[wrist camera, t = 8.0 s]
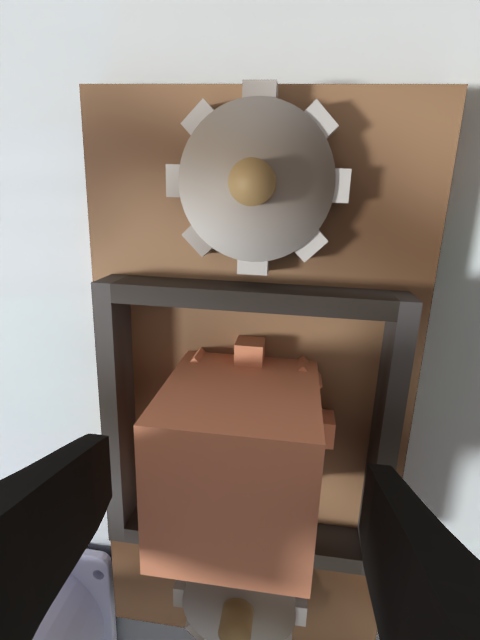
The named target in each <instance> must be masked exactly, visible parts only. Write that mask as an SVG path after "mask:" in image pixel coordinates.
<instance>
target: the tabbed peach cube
mask: <svg viewBox="0 0 480 640" xmlns="http://www.w3.org/2000/svg"><path fill="white" fill-rule="evenodd" d="M321 388H322V379H321V374H320V373H319V372H318V366H317V361H312V360H307V359H306V358H305V356H304V355H303V356H301V357H300V358H299V359H286V358H273V357H265V337H256V336H243V335H239V336H238V338H237V340H236V342H235V345H234V354H222V353H209V352H205V351H204V350H203V349H202V348H200V349H199V350H197V351H187V353H186V354H185V355H184V357H183V358H182V360H181V361H180V362H179V364H178V365H177V366H176V368H175V369H174V371H173V372H172V373H171V375H170V376H169V377H168V379H167V380H166V382H165V383H164V384H163V386H162V387H161V388H160V390H159V391H158V393H157V394H156V395H155V397H154V398H153V399H152V401H151V402H150V404H149V405H148V406H147V408H146V409H145V410H144V412H143V413H142V414H141V416H140V417H139V419H138V420H137V421H136V423H135V424H134V425H133V426H134V447H135V469H136V490H137V512H138V533H139V554H140V574H141V575H148V576H155V577H162V578H168V579H175V580H182V581H189V582H196V583H203V584H209V585H216V586H223V587H230V588H237V589H244V590H250V591H257V592H264V593H271V594H278V595H285V596H292V597H298V598H305V599H310V594H311V585H312V575H313V565H314V555H315V545H316V535H317V525H318V515H319V505H320V495H321V485H322V475H323V465H324V455H325V449H331V450H333V448H334V438H335V429H336V423H335V416H334V410H327V409H322V405H321V395H320V389H321Z"/></svg>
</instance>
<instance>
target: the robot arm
mask: <svg viewBox="0 0 480 640" xmlns="http://www.w3.org/2000/svg"><path fill="white" fill-rule="evenodd" d="M111 499H112V481H111V465H110V449H109V436H106V435H97V434H87V435H84V436H82V437H80V438H78V439H76V440H74V441H73V442H71V443H69V444H67V445H65V446H63V447H62V448H60V449H58V450H56V451H54V452H53V453H51V454H49V455H47V456H45V457H44V458H42V459H40V460H38V461H36V462H34V463H33V464H31V465H29V466H27V467H25V468H23V469H22V470H20V471H18V472H16V473H14V474H12V475H10V476H8V477H6V478H4V479H2V480H0V640H117V631H116V617H115V602H114V588H113V573H112V561H111V558H110V556H109V555H108V554H107V553H105V552H103V551H99V550H92V549H86V548H87V546H88V545H89V543H90V541H91V540H92V538H93V536H94V535H95V533H96V531H97V530H98V528H99V525H100V523H101V521H102V519H103V517H104V515H105V512H106V510H107V508H108V506H109V503H110V501H111ZM359 533H360V542H361V552H362V560H363V567H364V572H365V576H366V581H367V585H368V590H369V594H370V599H371V603H372V608H373V612H374V616H375V621H376V625H377V629H378V634H379V638H380V640H480V560H479V559H478V558H477V557H476V556H474V555H473V554H472V553H471V552H470V551H469V550H468V549H467V548H466V547H465V546H464V545H463V544H462V543H461V542H460V541H459V540H458V539H457V538H456V537H455V536H454V535H453V534H452V533H451V532H450V531H449V530H448V529H447V528H446V527H445V526H444V525H443V524H442V523H441V522H440V521H439V520H438V519H437V517H436V516H435V515H434V514H433V513H432V512H431V511H430V510H429V509H428V508H427V506H426V505H425V504H424V503H423V502H422V501H421V500H420V499H419V497H418V496H417V495H416V494H415V493H414V492H413V490H412V489H411V488H410V487H409V486H408V484H407V483H406V482H405V481H404V480H403V479H402V477H401V476H400V475H399V474H398V473H397V472H396V470H395V469H394V468H393V467H392V466H391V465H381V464H372V463H367V471H366V478H365V486H364V493H363V500H362V508H361V515H360V522H359Z"/></svg>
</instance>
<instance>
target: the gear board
mask: <svg viewBox="0 0 480 640" xmlns="http://www.w3.org/2000/svg"><path fill="white" fill-rule="evenodd" d="M467 86H468V84H277V80H243V84H79V87H80V101H81V116H82V131H83V145H84V160H85V174H86V189H87V203H88V218H89V233H90V247H91V262H92V276H93V282H91V290H92V304H93V319H94V333H95V347H96V361H97V376H98V390H99V404H100V419H101V433H102V435H106V436H109V449H110V465H111V481H112V499H111V501H110V503H109V506H108V508H107V519H108V533H109V540H111V553H112V568H113V582H114V597H115V612H116V617H121V618H127V619H133V620H140V621H146V622H152V623H158V624H164V625H171V626H177V627H183V628H184V629H186V630H187V631H188V632H189V633H190V634H191V635H192V636H193V637H194V638H195V639H196V640H205V639H206V640H376V635H377V625H376V621H375V616H374V612H373V608H372V603H371V599H370V594H369V590H368V585H367V581H366V576H365V572H364V567H363V560H362V552H361V542H360V533H359V522H360V515H361V508H362V500H363V493H364V486H365V478H366V471H367V463H372V464H381V465H391V466H392V467H393V468H394V469H395V470H396V472H397V473H398V474H399V475H400V476H401V477H402V478H403V472H404V466H405V460H406V454H407V448H408V442H409V436H410V430H411V424H412V418H413V412H414V406H415V400H416V394H417V388H418V382H419V376H420V370H421V364H422V358H423V352H424V346H425V340H426V333H427V327H428V321H429V315H430V309H431V303H432V297H433V291H434V285H435V279H436V273H437V267H438V261H439V255H440V249H441V243H442V237H443V231H444V225H445V219H446V213H447V207H448V201H449V195H450V189H451V183H452V176H453V170H454V164H455V158H456V152H457V146H458V140H459V134H460V128H461V122H462V116H463V110H464V104H465V98H466V92H467ZM239 335H243V336H256V337H265V357H273V358H286V359H299V358H300V357H301V356H303V355H304V356H305V358H306V359H307V360H312V361H317V366H318V372H319V373H320V374H321V379H322V388H321V389H320V395H321V405H322V409H327V410H334V416H335V423H336V429H335V438H334V448H333V450H331V449H325V455H324V465H323V475H322V485H321V495H320V505H319V515H318V525H317V535H316V545H315V555H314V565H313V575H312V585H311V594H310V599H305V598H298V597H292V596H285V595H278V594H271V593H264V592H257V591H250V590H244V589H237V588H230V587H223V586H216V585H209V584H203V583H196V582H189V581H182V580H175V579H168V578H162V577H155V576H148V575H141V574H140V554H139V533H138V512H137V490H136V469H135V447H134V426H133V425H134V424H135V423H136V421H137V420H138V419H139V417H140V416H141V414H142V413H143V412H144V410H145V409H146V408H147V406H148V405H149V404H150V402H151V401H152V399H153V398H154V397H155V395H156V394H157V393H158V391H159V390H160V388H161V387H162V386H163V384H164V383H165V382H166V380H167V379H168V377H169V376H170V375H171V373H172V372H173V371H174V369H175V368H176V366H177V365H178V364H179V362H180V361H181V360H182V358H183V357H184V355H185V354H186V353H187V351H197V350H199V349H200V348H202V349H203V350H204V351H205V352H209V353H222V354H234V345H235V342H236V340H237V338H238V336H239Z"/></svg>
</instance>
